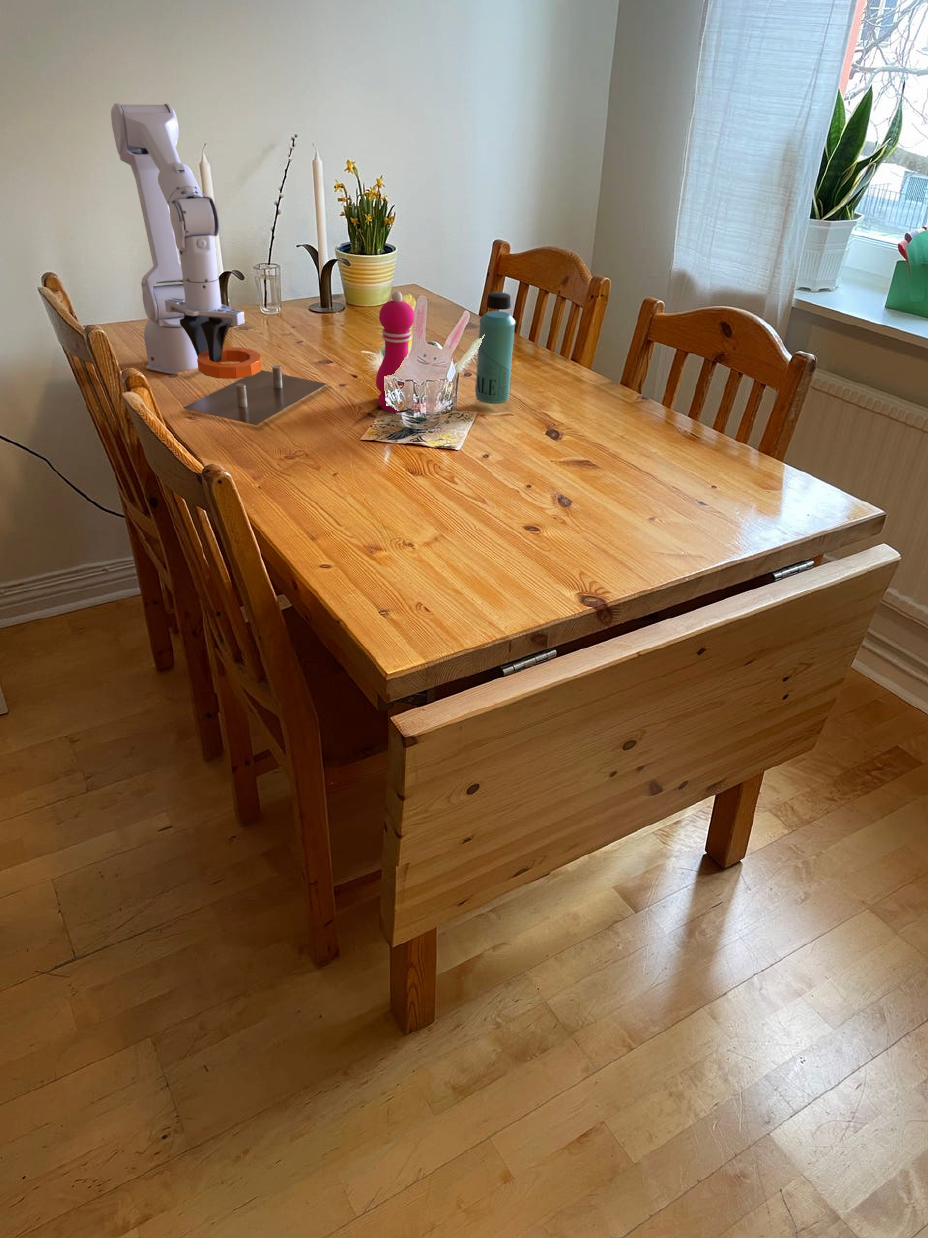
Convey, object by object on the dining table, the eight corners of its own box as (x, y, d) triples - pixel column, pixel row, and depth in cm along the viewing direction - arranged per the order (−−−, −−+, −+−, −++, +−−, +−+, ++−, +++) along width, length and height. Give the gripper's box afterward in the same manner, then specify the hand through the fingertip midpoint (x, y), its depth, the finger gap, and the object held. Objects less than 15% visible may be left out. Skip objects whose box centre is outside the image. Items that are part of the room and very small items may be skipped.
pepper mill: (410, 415, 157) (412, 299, 146) (371, 410, 158) (370, 294, 147) (420, 401, 163) (423, 288, 152) (382, 396, 164) (382, 284, 153)
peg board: (183, 412, 153) (180, 386, 151) (260, 373, 171) (258, 350, 168) (257, 429, 149) (254, 403, 146) (328, 387, 166) (327, 364, 164)
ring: (186, 371, 150) (184, 359, 149) (223, 354, 158) (222, 343, 157) (237, 382, 147) (236, 370, 146) (273, 365, 155) (272, 353, 153)
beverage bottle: (510, 400, 165) (519, 289, 154) (508, 414, 160) (517, 300, 149) (475, 397, 166) (482, 286, 154) (472, 410, 160) (478, 296, 149)
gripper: (148, 276, 145) (160, 359, 152) (222, 290, 140) (231, 374, 148) (176, 267, 150) (186, 348, 158) (248, 280, 146) (255, 362, 153)
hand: (209, 360), depth 153 cm, fingers closed on ring, 2 cm apart
